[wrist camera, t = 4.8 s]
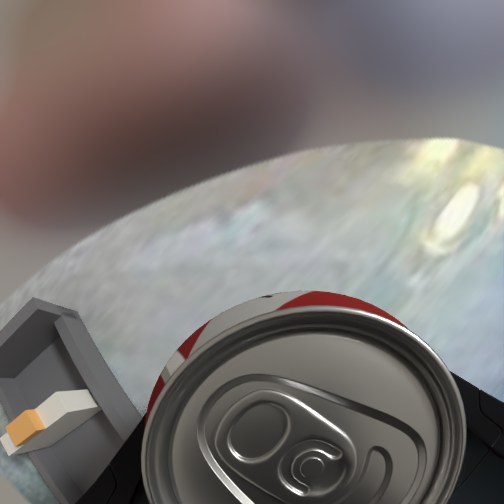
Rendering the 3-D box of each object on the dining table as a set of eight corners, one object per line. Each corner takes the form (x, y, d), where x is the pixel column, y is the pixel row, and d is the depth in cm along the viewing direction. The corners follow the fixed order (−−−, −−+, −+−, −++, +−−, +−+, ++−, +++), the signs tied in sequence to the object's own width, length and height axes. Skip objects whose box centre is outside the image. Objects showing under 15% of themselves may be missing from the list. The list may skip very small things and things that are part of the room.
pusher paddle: (109, 404, 21) (58, 413, 15) (50, 445, 20) (0, 458, 13) (98, 388, 21) (46, 392, 15) (42, 431, 20) (-10, 439, 14)
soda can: (293, 479, 14) (328, 636, 2) (191, 406, 15) (48, 469, 4) (372, 380, 15) (538, 390, 4) (270, 307, 17) (272, 189, 6)
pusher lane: (213, 501, 19) (194, 537, 13) (121, 543, 17) (90, 572, 12) (77, 311, 24) (33, 297, 19) (9, 374, 23) (-35, 371, 17)
